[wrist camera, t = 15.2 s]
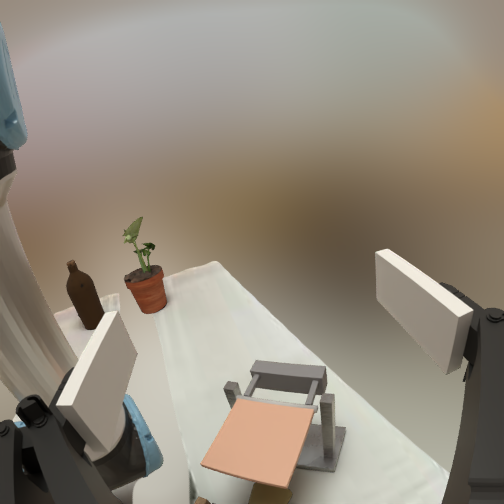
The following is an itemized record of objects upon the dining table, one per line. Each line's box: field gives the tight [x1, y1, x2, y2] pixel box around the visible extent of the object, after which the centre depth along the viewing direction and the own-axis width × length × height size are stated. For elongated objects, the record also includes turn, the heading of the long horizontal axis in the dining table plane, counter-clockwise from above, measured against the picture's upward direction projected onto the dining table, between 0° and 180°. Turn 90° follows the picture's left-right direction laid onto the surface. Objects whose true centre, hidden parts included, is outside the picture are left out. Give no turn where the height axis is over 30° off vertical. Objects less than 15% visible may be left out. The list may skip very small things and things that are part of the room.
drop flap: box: [200, 360, 327, 489], centre depth 36 cm, size 19×12×4 cm, turn 157°
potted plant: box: [123, 217, 167, 314], centre depth 101 cm, size 16×15×35 cm
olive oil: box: [66, 260, 105, 330], centre depth 97 cm, size 11×11×25 cm
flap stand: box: [223, 381, 346, 472], centre depth 42 cm, size 9×17×16 cm, turn 67°
